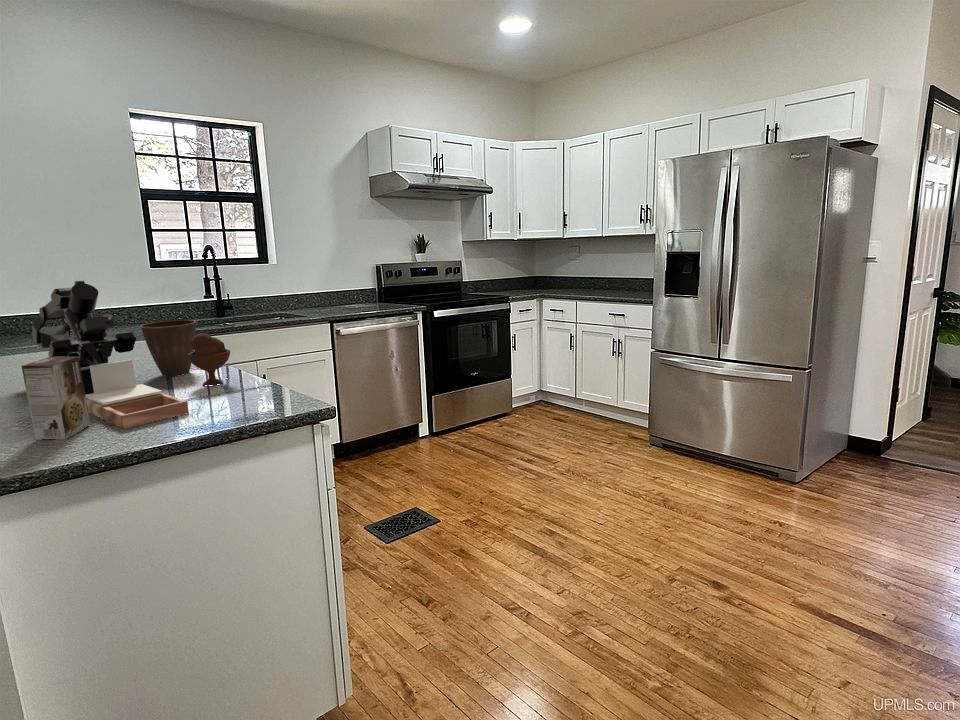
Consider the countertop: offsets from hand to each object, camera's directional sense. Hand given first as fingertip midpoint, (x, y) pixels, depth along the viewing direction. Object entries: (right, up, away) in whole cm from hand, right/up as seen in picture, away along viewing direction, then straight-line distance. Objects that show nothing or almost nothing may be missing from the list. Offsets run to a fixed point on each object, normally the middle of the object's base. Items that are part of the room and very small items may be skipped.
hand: (106, 371), depth 144 cm
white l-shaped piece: (+7, -6, -5) cm, 11 cm away
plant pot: (0, -2, +33) cm, 33 cm away
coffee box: (+5, -13, -22) cm, 26 cm away
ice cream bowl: (+19, -4, +18) cm, 26 cm away
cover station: (+12, -10, -8) cm, 17 cm away
